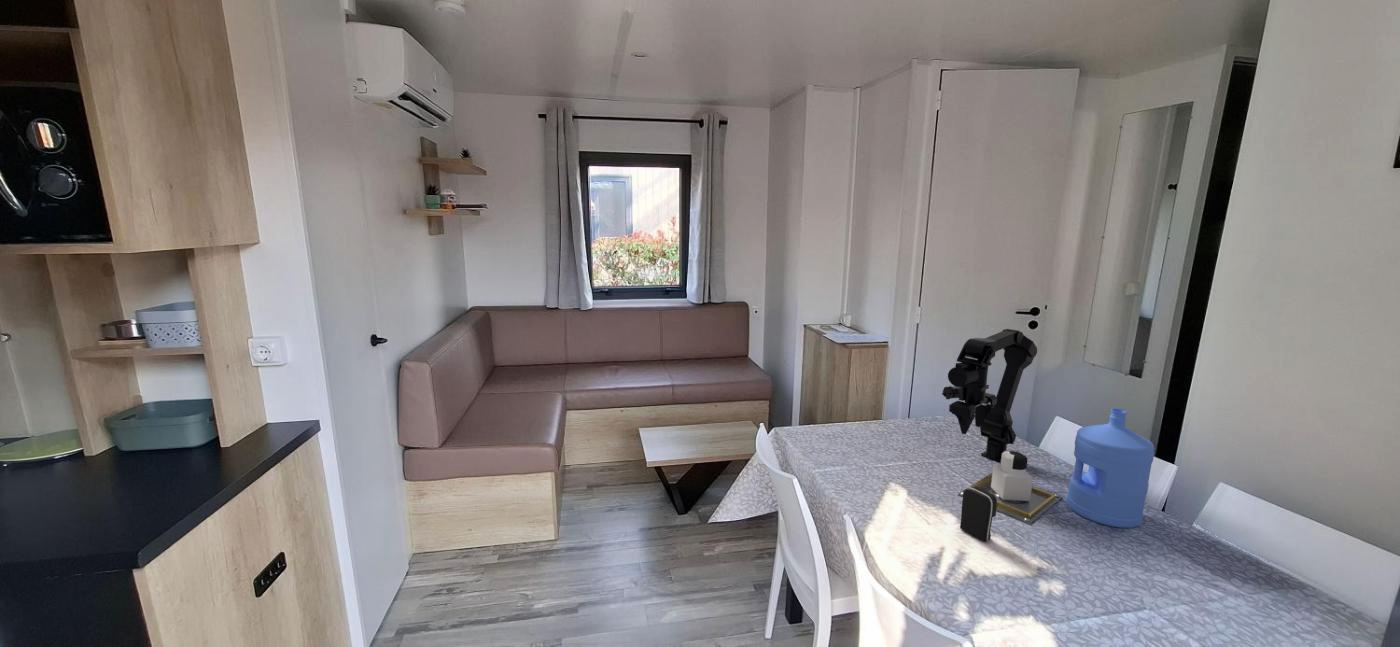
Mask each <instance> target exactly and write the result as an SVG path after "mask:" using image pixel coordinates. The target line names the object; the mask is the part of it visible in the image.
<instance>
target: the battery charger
mask: <svg viewBox="0 0 1400 647" xmlns="http://www.w3.org/2000/svg"><path fill="white" fill-rule="evenodd" d="M968 487H969V488H968ZM968 487H966V488H965V489H963V490H964V493H963V497H962V502H961V517H960V526H959V528H960V530H962V531H964V532H965V533H967V534H969V535H970V536H972V537H974V538H976V539H978V540H979V541H981V542H984V543H987V542H989V541H990V540H991V536H992V535H991V528H992V523H993V518H994V517H996V516H997V511H996V510H997V499H996V497H995V496H994V495H993V494H991V493H989V492H987V491H985V490H983V489H981V488H978V487H976V486H973V487H970V486H968Z"/></svg>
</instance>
